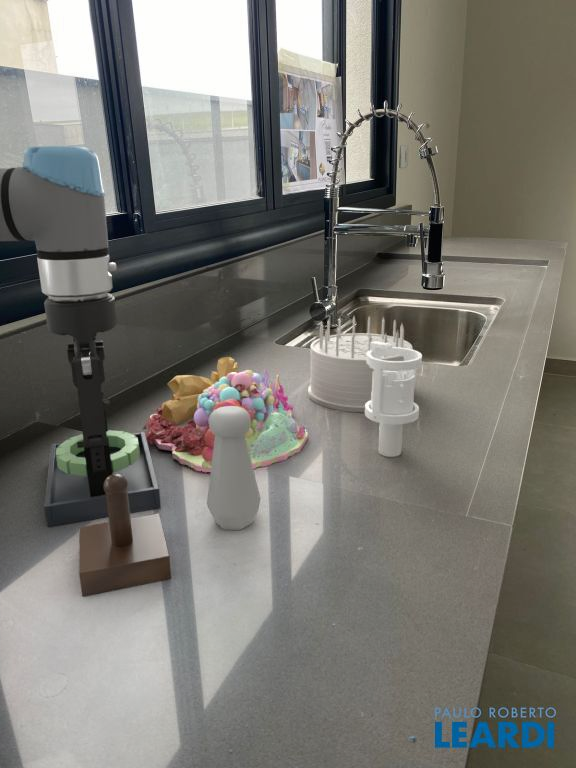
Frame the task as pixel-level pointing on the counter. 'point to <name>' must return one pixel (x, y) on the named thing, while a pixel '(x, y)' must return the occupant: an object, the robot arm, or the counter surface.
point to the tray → (75, 504)
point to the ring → (118, 459)
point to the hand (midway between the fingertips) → (101, 474)
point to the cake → (347, 366)
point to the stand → (121, 546)
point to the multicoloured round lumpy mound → (226, 388)
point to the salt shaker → (232, 470)
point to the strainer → (392, 394)
